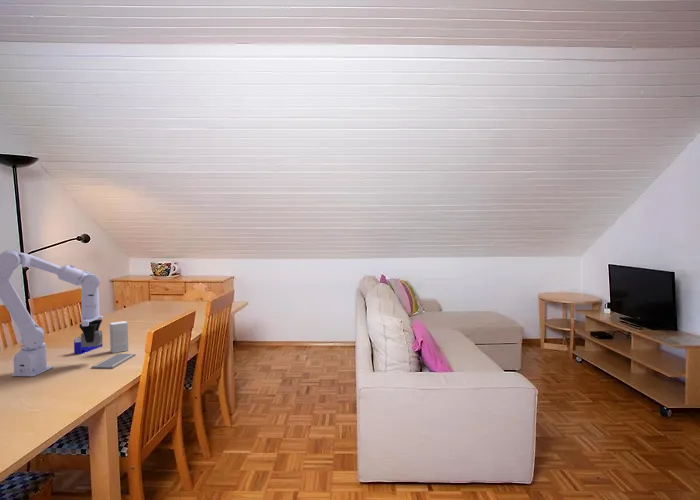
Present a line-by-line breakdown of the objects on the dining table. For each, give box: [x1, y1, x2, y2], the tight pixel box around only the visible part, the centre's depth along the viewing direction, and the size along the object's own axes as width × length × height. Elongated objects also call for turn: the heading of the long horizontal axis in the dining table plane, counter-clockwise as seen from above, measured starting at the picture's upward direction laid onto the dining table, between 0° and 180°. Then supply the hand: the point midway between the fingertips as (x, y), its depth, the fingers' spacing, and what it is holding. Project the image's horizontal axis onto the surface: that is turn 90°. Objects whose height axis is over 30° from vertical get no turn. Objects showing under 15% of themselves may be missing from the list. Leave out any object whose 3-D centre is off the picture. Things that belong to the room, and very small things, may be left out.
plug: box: [73, 330, 103, 347], centre depth 161 cm, size 4×9×5 cm, turn 106°
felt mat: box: [90, 353, 136, 370], centre depth 163 cm, size 16×8×1 cm, turn 179°
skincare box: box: [109, 320, 129, 354], centre depth 177 cm, size 6×4×12 cm
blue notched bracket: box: [73, 339, 104, 355], centre depth 178 cm, size 12×4×6 cm, turn 171°
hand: (91, 340), depth 161 cm, fingers closed on plug, 4 cm apart
